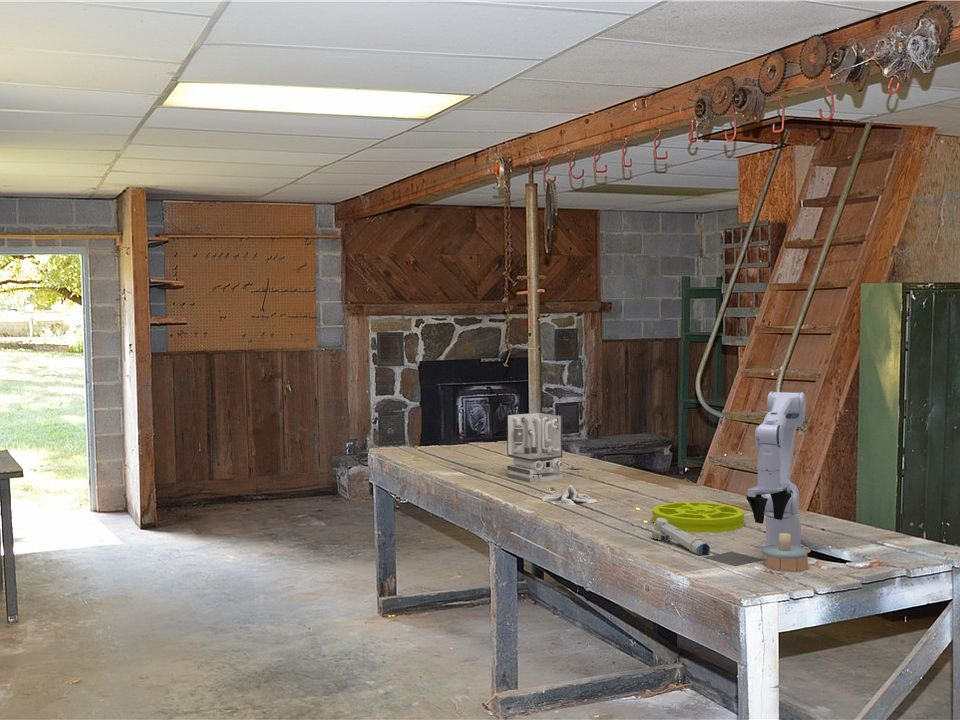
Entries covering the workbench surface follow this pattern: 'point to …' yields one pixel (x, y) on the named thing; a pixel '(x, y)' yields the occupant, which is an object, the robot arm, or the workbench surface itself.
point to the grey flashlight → (679, 537)
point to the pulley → (700, 516)
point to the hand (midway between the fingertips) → (768, 521)
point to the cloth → (569, 497)
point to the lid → (784, 549)
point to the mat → (733, 558)
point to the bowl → (786, 563)
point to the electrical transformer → (534, 446)
